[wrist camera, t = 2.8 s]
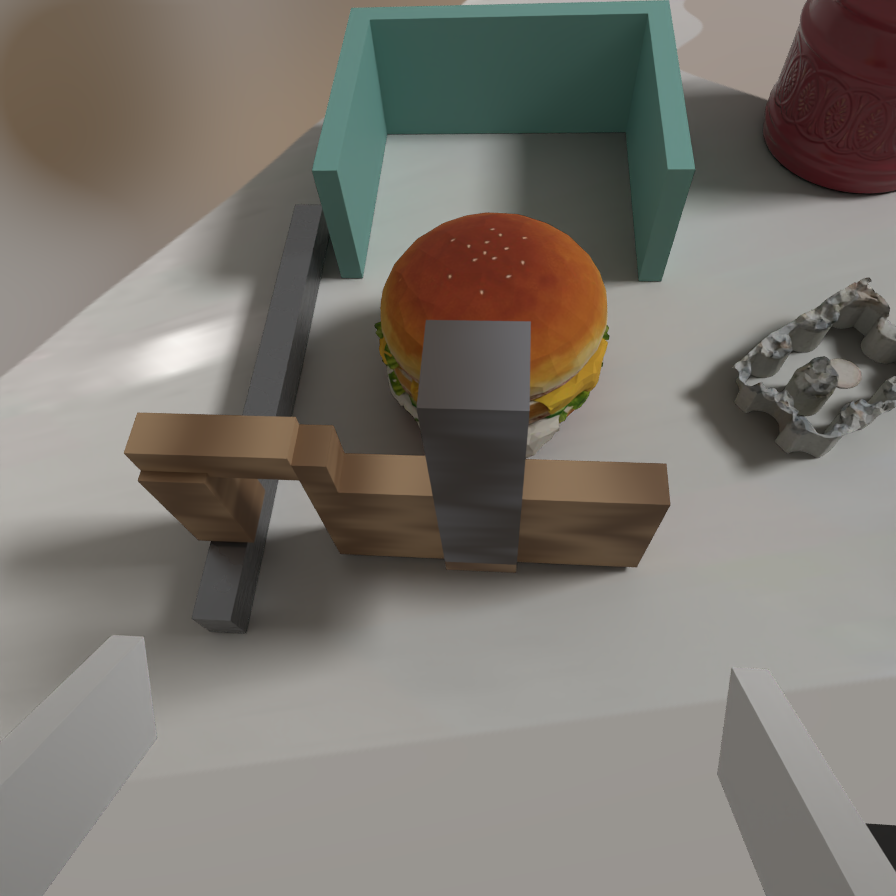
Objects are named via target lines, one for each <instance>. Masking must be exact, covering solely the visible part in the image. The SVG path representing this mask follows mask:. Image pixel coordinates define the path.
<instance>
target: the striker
mask: <svg viewBox="0 0 896 896" xmlns="http://www.w3.org/2000/svg"><path fill="white" fill-rule="evenodd" d="M530 343H531V321H466V320H426V323H425V333H424V342H423V351H422V361H421V370H420V379H419V389H418V398H417V407H416V408H417V414H418V419H419V425H420V430H421V435H422V441H423V446H424V452H425V456H413V455H382V454H352V453H344V451H343V448H342V446H341V443H340V441H339V438H338V436H337V433H336V431H335V428H334V426H333V425H304V424H299V423H298V421H297V419H296V417H276V416H241V415H205V414H169V413H137V415H136V418H135V421H134V424H133V427H132V430H131V433H130V436H129V439H128V442H127V445H126V448H125V451H124V454H125V455H126V456H127V457H128V458H129V459H130V460H131V461H132V462H133V463H134V464H135V465H136V466H137V467H138V468H139V469H140V470H141V472H140V475H139V478H138V482H139V483H140V484H141V485H142V486H143V487H144V488H145V489H146V490H147V491H148V492H149V493H150V494H152V495H153V496H154V497H155V498H156V499H157V500H158V501H159V502H160V503H161V504H162V505H163V506H164V507H165V508H166V509H167V510H168V511H169V512H170V513H171V514H172V515H173V516H174V517H175V518H176V519H177V520H178V521H179V522H180V523H181V524H182V525H183V526H184V527H185V528H186V529H187V530H188V531H189V532H190V533H191V534H192V535H193V536H195V537H196V538H197V539H198V540H203V541H226V542H248V543H254V541H255V536H256V531H257V527H258V522H259V518H260V513H261V508H262V504H263V499H264V495H265V489H264V488H263V486H262V485H261V483H260V482H259V480H258V479H274V480H299V481H300V483H301V484H302V486H303V488H304V490H305V491H306V493H307V495H308V497H309V499H310V500H311V502H312V504H313V506H314V508H315V509H316V511H317V513H318V515H319V517H320V518H321V520H322V522H323V524H324V525H325V527H326V529H327V531H328V533H329V534H330V536H331V538H332V540H333V542H334V543H335V545H336V547H337V549H338V551H339V552H340V554H353V555H376V556H398V557H420V558H442V559H444V560H445V565H446V570H468V571H489V572H511V573H516V568H517V562H531V563H553V564H575V565H597V566H619V567H637V566H638V564H639V562H640V560H641V558H642V556H643V555H644V553H645V551H646V549H647V547H648V545H649V544H650V542H651V540H652V538H653V536H654V534H655V532H656V531H657V529H658V527H659V525H660V523H661V521H662V519H663V518H664V516H665V514H666V512H667V510H668V508H669V507H670V496H669V485H668V475H667V465H666V464H661V463H630V462H599V461H568V460H537V459H526V448H527V436H528V424H529V412H530Z"/></svg>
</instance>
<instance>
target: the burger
mask: <svg viewBox="0 0 896 896" xmlns="http://www.w3.org/2000/svg"><path fill="white" fill-rule="evenodd" d="M380 309H381V322H378V323H376V324H375V328H376V329H377V331H376V334H377V335H378V337H379V338H380V346H379V351H380V355H381V356H382V359H383V360H382V361H383V362H384V363H385V364H386V366H387V375H388V381H389V386H390V391H391V393H392V395H393V396H394V397H395V398H396V399H397V400H398V402H399V404H400V405H401V406H403V405H404V407H405V410H407V411H409V412H410V414H411V415H412V416H413V417H414V418H415V420H416V422H417V423H418V425H419V419H418V414H417V408H416V407H417V398H418V389H419V379H420V370H421V361H422V351H423V342H424V333H425V323H426V320H466V321H531V343H530V412H529V424H528V436H527V448H526V458H528V457H530V456H533V455H535V454H536V453H537V452H538V451H539V449H540V448H541V447H542V446H543V445H544V444H545V443H546V442H548V441H549V440H551V439H552V437H553V435H554V433H555V432H557V431H559V423H561V422H562V421H565V419H566V417H567V416H568V415H569V414H570V413H571V412H573V411H574V410H576V409H578V408H580V407H581V406H582V404H583V403H584V402H585V401H586V399H587V398H588V396H589V393H590V391H591V390H592V389H593V388H594V387H595V386H596V384H597V383H598V380H599V375H600V370H601V367H602V366H603V362H602V361H603V357H604V354H605V352H606V348H607V344H608V342H607V341H606V340H609V335H608V334H607V332H608V329H609V327H608V326H607V297H606V289H605V286H604V283H603V281H602V278H601V275H600V272H599V270H598V269H597V267H596V266H595V264H594V262H593V261H592V259H591V258H590V256H589V255H588V254H587V253H586V252H585V251H584V250H583V249H582V248H581V247H580V246H579V245H578V244H577V243H576V242H575V241H574V240H573V239H572V238H571V237H569V236H568V235H567V234H565V233H563V232H562V231H560V230H558V229H556V228H554V227H553V226H551V225H549V224H547V223H544V222H541V221H538V220H535V219H532V218H529V217H526V216H522V215H519V214H507V213H480V214H474V215H467V216H463V217H460V218H457V219H454V220H451V221H448V222H445V223H443V224H441V225H439V226H438V227H436V228H434V229H433V230H431V231H430V232H428V233H426V234H425V235H423V236H421V237H420V238H418V239H417V240H416V241H415V242H414V243H413V244H412V245H411V246H410V247H409V248H408V250H407V251H406V252H405V253H404V254H403V255H402V256H401V257H400V258H399V260H398V261H397V262H396V263H395V264H394V266H393V268H392V271H391V273H390V275H389V277H388V279H387V281H386V283H385V286H384V289H383V292H382V299H381V307H380ZM419 427H420V425H419Z"/></svg>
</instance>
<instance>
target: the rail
mask: <svg viewBox="0 0 896 896" xmlns="http://www.w3.org/2000/svg"><path fill="white" fill-rule="evenodd" d="M329 236H330V234H329V230H328V227H327V223H326V220H325V216H324V212H323V209H322V205H295V208H294V212H293V216H292V220H291V224H290V228H289V232H288V236H287V240H286V244H285V248H284V252H283V256H282V260H281V264H280V268H279V272H278V276H277V280H276V284H275V288H274V292H273V296H272V300H271V304H270V308H269V312H268V316H267V320H266V324H265V328H264V332H263V336H262V340H261V344H260V348H259V352H258V356H257V360H256V364H255V367H254V371H253V375H252V379H251V383H250V387H249V391H248V395H247V399H246V403H245V407H244V411H243V415H242V416H276V417H292V412H293V408H294V403H295V398H296V393H297V389H298V384H299V379H300V374H301V370H302V365H303V360H304V355H305V350H306V346H307V341H308V336H309V331H310V327H311V322H312V317H313V312H314V308H315V303H316V298H317V293H318V289H319V284H320V279H321V274H322V269H323V265H324V260H325V255H326V250H327V246H328V241H329ZM258 480H259V482H260V483H261V485H262V486H263V488H264V489H265V495H264V499H263V504H262V508H261V513H260V518H259V522H258V527H257V531H256V536H255V541H254V543H248V542H226V541H211V543H210V547H209V551H208V555H207V559H206V563H205V567H204V571H203V575H202V579H201V583H200V587H199V591H198V595H197V599H196V603H195V607H194V611H193V615H192V619H193V620H194V621H196V622H197V623H198V624H200V625H201V626H203V627H204V628H206V629H207V630H208V631H213V632H231V633H246V632H247V627H248V622H249V617H250V613H251V608H252V603H253V598H254V593H255V589H256V584H257V579H258V574H259V570H260V565H261V560H262V555H263V551H264V546H265V541H266V536H267V532H268V527H269V522H270V517H271V512H272V508H273V503H274V498H275V493H276V489H277V484H278V480H274V479H258Z"/></svg>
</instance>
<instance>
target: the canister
mask: <svg viewBox="0 0 896 896" xmlns="http://www.w3.org/2000/svg"><path fill="white" fill-rule="evenodd" d="M763 135H764V139H765V142H766V144H767V146H768V148H769V150H770V151H771V153H772V154H773V156H774V157H775V158H776V159H777V160H778V161H779V162H780V163H781V164H782V165H783V166H785V167H786V168H787V169H788V170H790V171H791V172H793V173H794V174H796V175H798V176H799V177H801V178H803V179H805V180H807V181H810V182H812V183H814V184H817V185H820V186H823V187H826V188H830V189H834V190H838V191H844V192H851V193H882V192H889V191H894V190H896V0H807V1H806V3H805V5H804V7H803V9H802V12H801V16H800V24H799V27H798V29H797V32H796V35H795V37H794V40H793V43H792V45H791V48H790V51H789V53H788V56H787V58H786V61H785V64H784V66H783V69H782V72H781V74H780V77H779V80H778V81H777V82H776V84H775V85H774V87H773V89H772V91H771V93H770V97H769V99H768V102H767V105H766V109H765V120H764V124H763Z"/></svg>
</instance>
